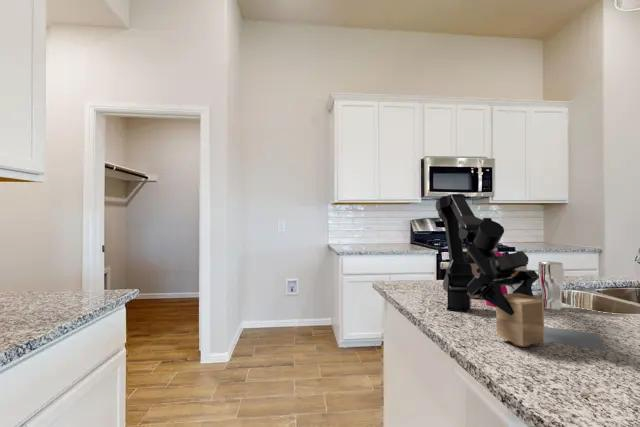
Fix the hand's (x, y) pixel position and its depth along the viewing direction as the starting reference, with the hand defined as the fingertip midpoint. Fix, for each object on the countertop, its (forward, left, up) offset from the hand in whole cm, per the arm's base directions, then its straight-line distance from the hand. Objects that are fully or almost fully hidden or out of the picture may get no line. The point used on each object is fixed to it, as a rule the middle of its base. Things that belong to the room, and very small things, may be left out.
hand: (524, 312), depth 80 cm
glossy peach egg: (-1, +1, -8) cm, 8 cm away
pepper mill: (-10, +38, -8) cm, 40 cm away
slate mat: (+9, +12, -8) cm, 17 cm away
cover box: (-1, +1, -7) cm, 7 cm away
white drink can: (+6, +42, -8) cm, 43 cm away
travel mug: (-20, +46, -8) cm, 51 cm away
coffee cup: (-5, +56, -8) cm, 57 cm away
